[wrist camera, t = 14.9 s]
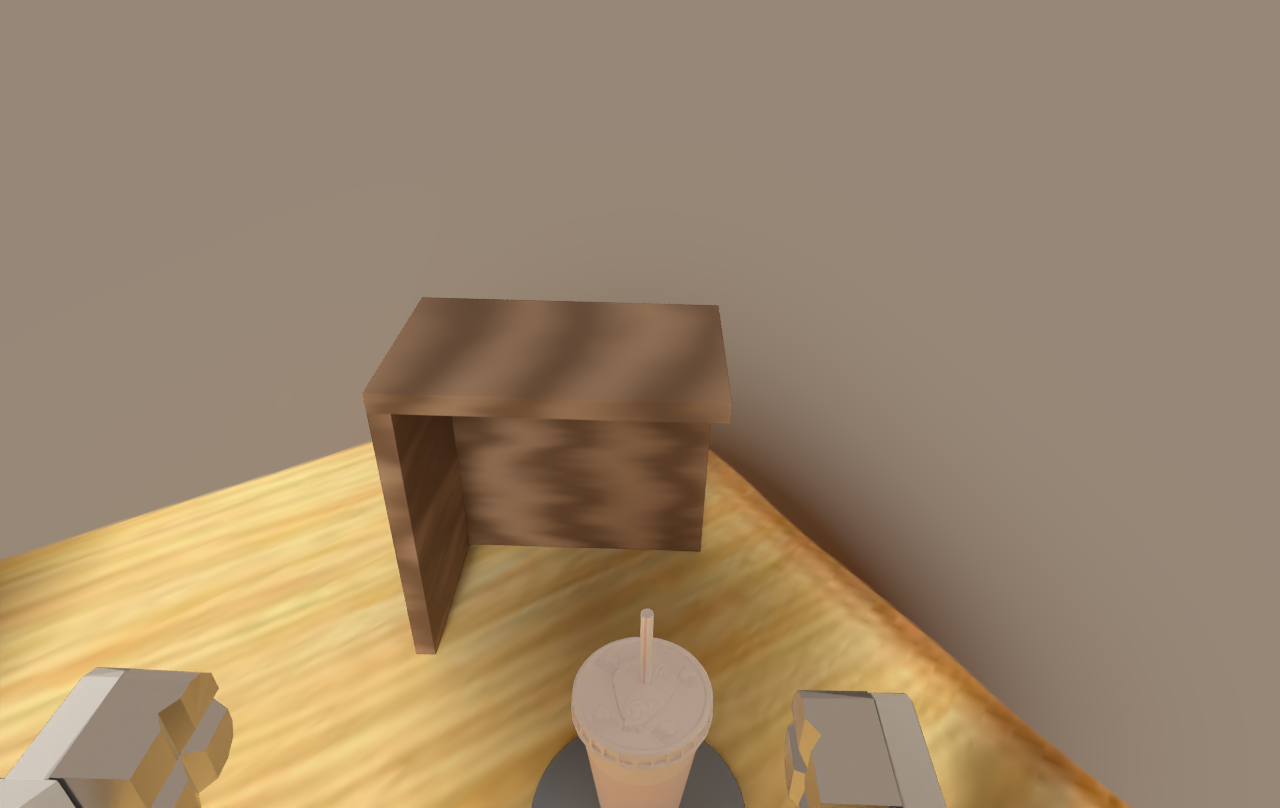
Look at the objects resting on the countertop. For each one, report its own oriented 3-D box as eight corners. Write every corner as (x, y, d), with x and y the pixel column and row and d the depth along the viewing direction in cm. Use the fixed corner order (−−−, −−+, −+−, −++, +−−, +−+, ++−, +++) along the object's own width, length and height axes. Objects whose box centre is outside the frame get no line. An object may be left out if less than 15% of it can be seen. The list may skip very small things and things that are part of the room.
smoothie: (710, 769, 41) (731, 582, 34) (690, 893, 36) (709, 704, 29) (595, 743, 43) (591, 557, 35) (559, 860, 37) (545, 671, 30)
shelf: (416, 653, 48) (362, 393, 38) (456, 532, 58) (422, 297, 47) (706, 662, 48) (732, 403, 38) (699, 539, 57) (718, 305, 47)
